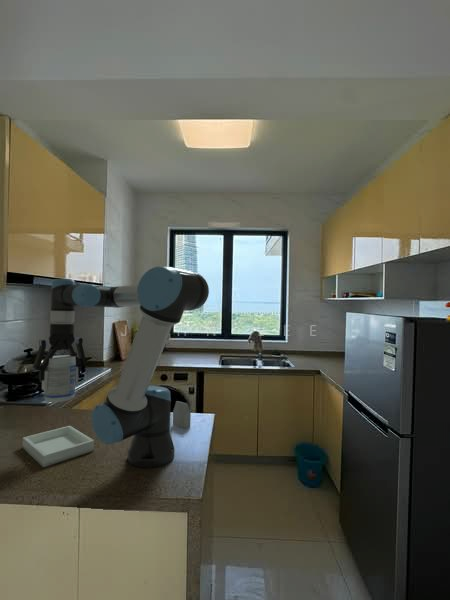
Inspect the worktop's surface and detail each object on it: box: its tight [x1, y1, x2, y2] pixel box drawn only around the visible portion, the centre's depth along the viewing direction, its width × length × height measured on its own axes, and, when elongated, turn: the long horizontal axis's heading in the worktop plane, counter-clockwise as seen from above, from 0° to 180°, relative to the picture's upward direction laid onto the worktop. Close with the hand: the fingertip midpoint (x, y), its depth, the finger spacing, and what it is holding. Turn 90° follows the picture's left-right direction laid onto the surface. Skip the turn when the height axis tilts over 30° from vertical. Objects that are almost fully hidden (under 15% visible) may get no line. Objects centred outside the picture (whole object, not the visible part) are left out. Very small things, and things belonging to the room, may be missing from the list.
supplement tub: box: [43, 354, 76, 403], centre depth 110 cm, size 10×10×15 cm
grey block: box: [172, 400, 192, 430], centre depth 133 cm, size 4×7×10 cm, turn 53°
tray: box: [22, 425, 95, 468], centre depth 110 cm, size 20×16×4 cm
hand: (60, 387), depth 110 cm, fingers closed on supplement tub, 9 cm apart
